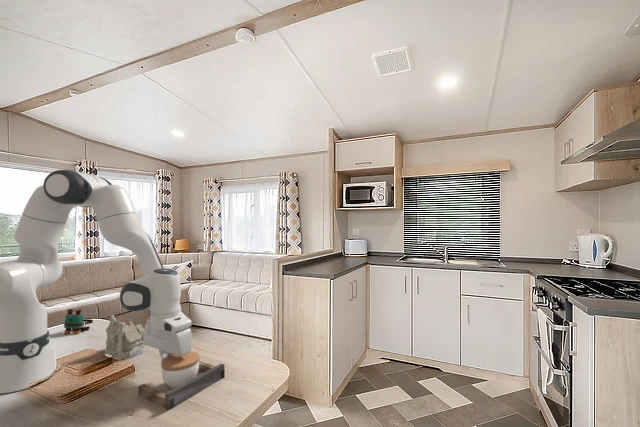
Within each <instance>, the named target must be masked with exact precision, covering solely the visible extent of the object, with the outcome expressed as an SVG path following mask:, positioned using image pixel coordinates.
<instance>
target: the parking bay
mask: <svg viewBox="0 0 640 427" xmlns="http://www.w3.org/2000/svg"><path fill="white" fill-rule="evenodd" d="M225 368H226V367H225V364H224V363H219V364H218V365H213V364H210V363H207V362H204V361H201V360H199V370H198V372H200V373H201V374H199V375H197V376H196V377H195V378H193V379H191V380H189V381H188V382H186V383H184V384H182V385H180V386H178V387H176V388H174V389H171V390H169V391H166V392H162V391H160V390H159V389H156V388H154V387H151V386H149V385H148V384H145V383H142V384H140V385H138V386H137V388H138V392H137V393H138V396H140V397H142V398H144V399H146V400H148V401H150V402H151V403H153V404H156V405H158V406H159V407H162V408H163V409H166V410H168V411H171V409H173V408H175V407H177V406H179V405H180V404H182V403H183V402H185V401H187V400H188V399H190V398H192V397H193V396H195V395H197V394H199V393H201V392H202V391H204V390H205V389H208V388H209V387H211V386H212V385H213V384H215V383H217V382H218V381H220V380H222V379H224V378H225V377H226V376H225Z"/></svg>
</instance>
